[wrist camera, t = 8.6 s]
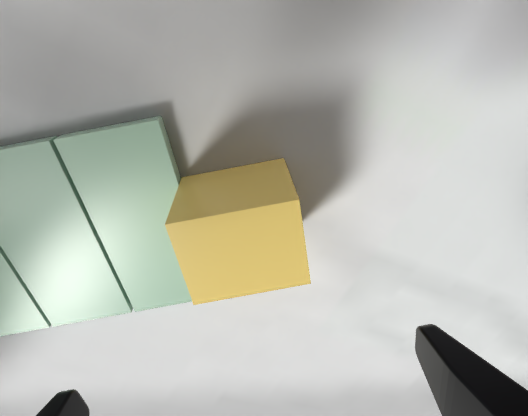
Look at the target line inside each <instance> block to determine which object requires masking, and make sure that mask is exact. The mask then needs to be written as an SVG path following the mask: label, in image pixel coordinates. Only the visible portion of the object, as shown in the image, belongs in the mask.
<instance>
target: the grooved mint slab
mask: <svg viewBox="0 0 528 416" xmlns="http://www.w3.org/2000/svg"><path fill="white" fill-rule="evenodd" d="M305 284H311V282H310V274H309V267H308V260H307V252H306V245H305V238H304V230H303V223H302V216H301V208H300V201H299V197H298V195H297V192H296V189H295V187H294V184H293V181H292V179H291V176H290V173H289V171H288V168H287V165H286V163H285V160H284V158H281V159H276V160H271V161H265V162H260V163H255V164H249V165H244V166H239V167H233V168H228V169H223V170H218V171H213V172H207V173H202V174H197V175H192V176H186V177H182V178H181V177H180V174H179V171H178V168H177V165H176V161H175V158H174V155H173V152H172V148H171V145H170V142H169V139H168V136H167V132H166V129H165V126H164V123H163V120H162V116H157V117H152V118H146V119H141V120H136V121H131V122H126V123H120V124H115V125H110V126H105V127H100V128H94V129H89V130H84V131H79V132H74V133H68V134H63V135H60V136H59V137H57V136H53V137H48V138H43V139H37V140H32V141H27V142H22V143H17V144H11V145H6V146H1V147H0V336H5V335H11V334H16V333H22V332H27V331H33V330H38V329H44V328H49V327H50V326H51V325H52V326H53V327H55V326H60V325H65V324H71V323H76V322H82V321H87V320H93V319H98V318H104V317H109V316H115V315H120V314H125V313H131V312H132V310H133V309H134V311H135V312H136V311H142V310H147V309H153V308H158V307H164V306H169V305H175V304H180V303H186V302H191V301H192V302H193V305H196V304H202V303H207V302H213V301H218V300H223V299H229V298H234V297H240V296H245V295H251V294H256V293H262V292H267V291H273V290H278V289H284V288H289V287H294V286H300V285H305Z"/></svg>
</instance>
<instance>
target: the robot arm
mask: <svg viewBox="0 0 528 416" xmlns="http://www.w3.org/2000/svg"><path fill="white" fill-rule="evenodd" d="M415 350H416V354H417V357H418V360H419V362H420V365H421V367H422V369H423V372H424V374H425V376H426V379H427V381H428V384H429V386H430V388H431V391H432V393H433V395H434V398H435V400H436V403H437V405H438V407H439V410H440V412H441V414H442V416H528V390H526V389H525V388H524V387H522V386H521V385H519V384H518V383H516V382H515V381H514V380H512V379H511V378H509V377H508V376H507V375H505V374H504V373H502V372H501V371H499V370H498V369H497V368H495V367H494V366H492V365H491V364H490V363H488V362H487V361H485V360H484V359H482V358H481V357H480V356H478V355H477V354H475V353H474V352H473V351H471V350H470V349H468V348H467V347H465V346H464V345H463V344H461V343H460V342H458V341H457V340H456V339H454V338H453V337H451V336H450V335H448V334H447V333H446V332H444V331H443V330H441V329H440V328H439V327H437V326H436V325H433V324H428V325H423V326H418V327H417V329H416V342H415ZM36 416H89V408H88V406H87V404H86V403H85V401H84V400H83V398H82V397H81V396H80V394H79V393H78V391H76V390H74V389H73V390H67V391H62V392H59V393H57V394H56V395H55V396H54V397H53V398H52V399H51V400H50V401H49V402H48V403H47V405H46V406H45V407H44V408H43V409H42V410H41V411H40V412H39V413H38V414H37V415H36Z"/></svg>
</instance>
